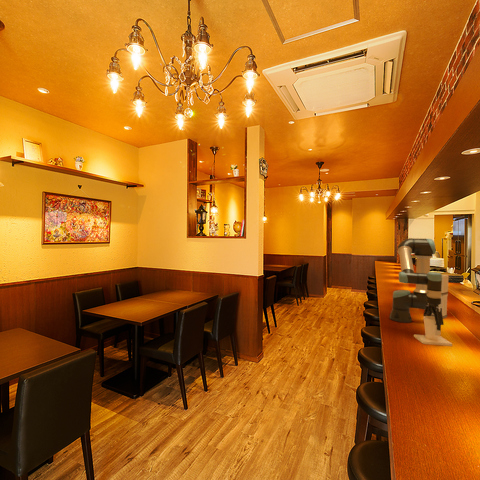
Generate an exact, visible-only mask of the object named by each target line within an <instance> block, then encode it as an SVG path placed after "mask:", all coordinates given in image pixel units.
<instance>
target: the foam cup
mask: <svg viewBox="0 0 480 480" xmlns="http://www.w3.org/2000/svg"><path fill="white" fill-rule="evenodd" d="M423 322H424V324H423V325H424V331H425V332H424V335H426V338H427V339H430V340H438V337H439V336H440V335H435V324H436V321H435V317H434V316H423Z"/></svg>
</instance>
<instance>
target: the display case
mask: <svg viewBox="0 0 480 480" xmlns="http://www.w3.org/2000/svg"><path fill="white" fill-rule="evenodd" d="M441 291H442V292H441V304H439V305H438V306H439V308H442V317H443V320H444V319H446V318H447V317H448V314H447V313H448V312H447V311H448V309H447V308H448V296H449V274H442V288H441ZM431 316H434V314H433V313H432V314H431Z"/></svg>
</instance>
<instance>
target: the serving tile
mask: <svg viewBox="0 0 480 480" xmlns="http://www.w3.org/2000/svg"><path fill="white" fill-rule="evenodd" d="M413 338H415V339H416V340H418V342H420V343H422V344H424V345H430V346H431V345H433V346H434V345H435V346H445V347H453V343H452V342H451V341H448V340H447V339H446V338H444V337H443V336H440V335H439V337H438V340H430V339H427V338H426V335H425V334H413Z"/></svg>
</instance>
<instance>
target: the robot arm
mask: <svg viewBox="0 0 480 480" xmlns="http://www.w3.org/2000/svg"><path fill="white" fill-rule="evenodd" d="M396 249H397V254H398V255H399V262H400V270H401V271H399V272H398V282H399V283H401V284H410V285H411V284H412V285H415V289H413V291H412V292H411V291H410V290H405V289H398V290H394V291H393V292H392V309H391V311H390V313H389V319H390V320H392V321H393V322H398V323H405V324H407V323H412V321H413V317H412V315H411V312H410V310H411V309H417V310H418V309H419V310H424V312H423V317H424V316H431V314H432V313H433V314H434V317H435V321H436V324H435V335H439V336H441V334H442V333H441V330H442V326H444V319H443V317H442V308H439V306H438V305H439V304H441V292H442V291H441V288H442V275H443V274H442V273H441V272H436V271H435V272H434V271H433V272H432V271H431V259H432V258H433V257H434V256H433V255H435V254H436V251H437V249H436V244H435V240H433V239H432V238H414V237H413V238H412V237H411V238H405V239H404V240H402V241H401V242H399V244H398V246H397V247H396ZM412 254H414V255H413V256H414V257H415V258H416V263H415V265H416V270H415V269H414V265H413V264H414V263H413V258H412ZM415 271H416V272H415ZM441 337H442V336H441Z"/></svg>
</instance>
